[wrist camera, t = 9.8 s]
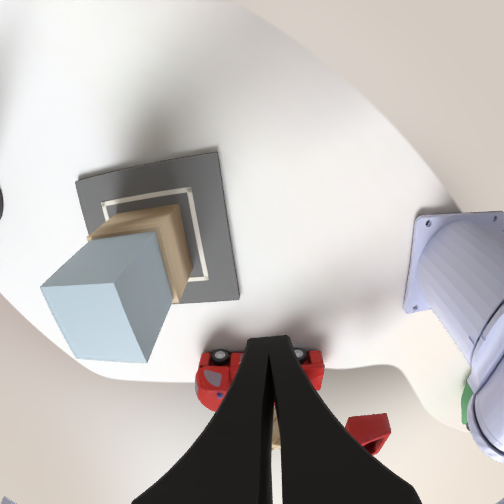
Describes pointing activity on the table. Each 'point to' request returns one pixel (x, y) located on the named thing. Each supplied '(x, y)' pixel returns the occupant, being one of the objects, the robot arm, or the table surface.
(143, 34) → the table surface
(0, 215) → the sundae
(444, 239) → the robot arm
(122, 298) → the bluegrey block
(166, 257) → the beech block
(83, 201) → the grey square pad
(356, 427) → the toy fire truck
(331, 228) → the table surface
